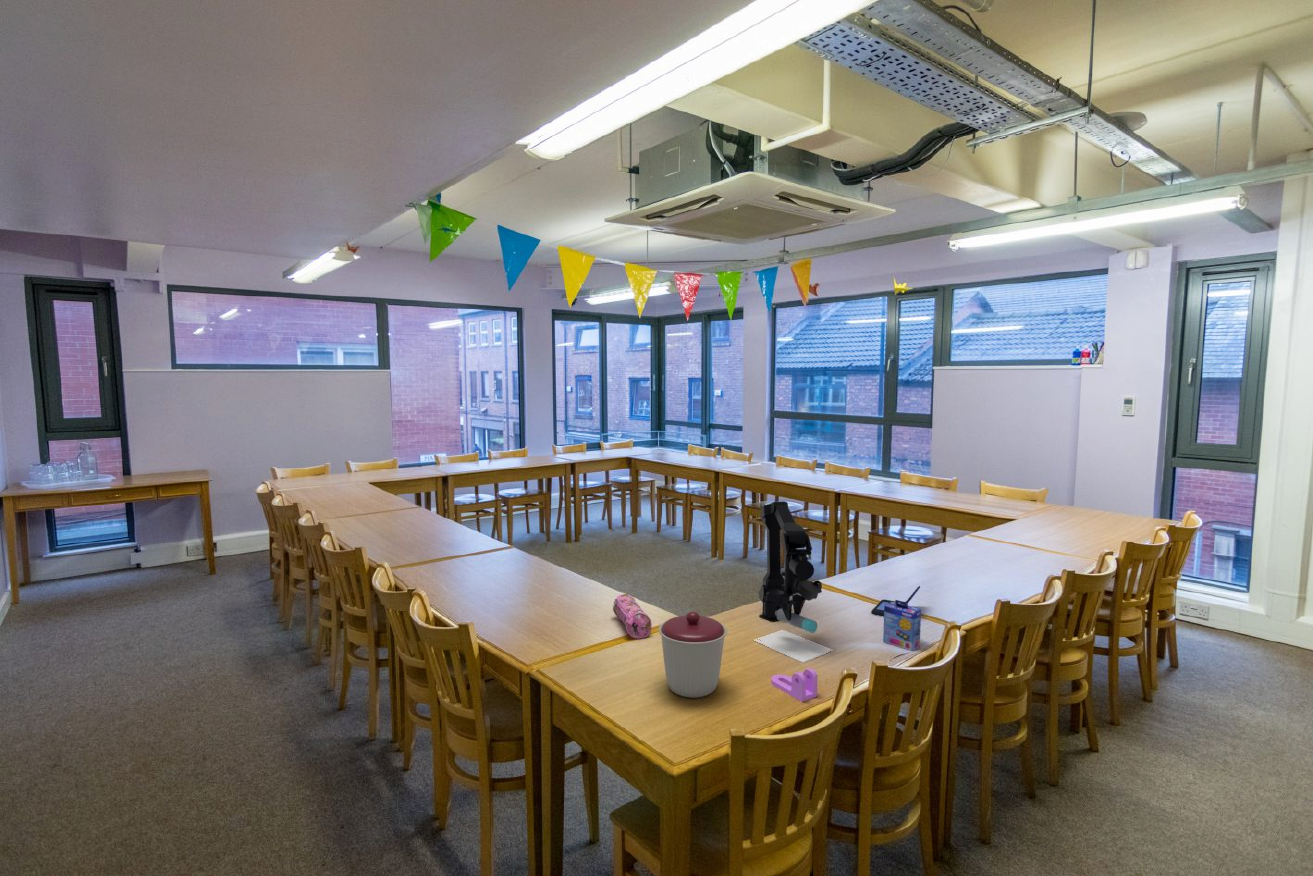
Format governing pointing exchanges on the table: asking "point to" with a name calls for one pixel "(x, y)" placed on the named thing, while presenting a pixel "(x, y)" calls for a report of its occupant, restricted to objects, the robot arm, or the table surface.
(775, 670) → the table surface
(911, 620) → the ink cartridge box
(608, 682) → the table surface
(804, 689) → the bracket
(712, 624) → the canister
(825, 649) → the paper sheet
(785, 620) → the marker
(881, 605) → the handheld game console
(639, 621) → the pencil case
